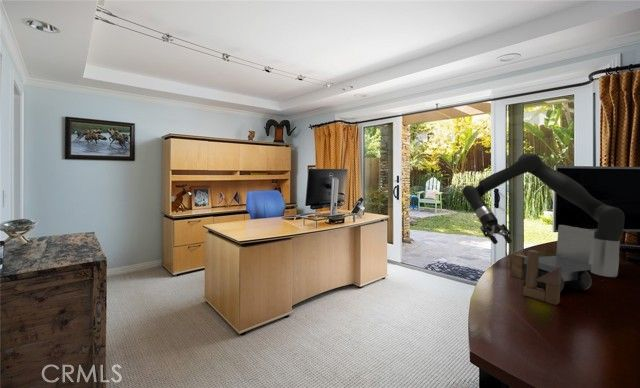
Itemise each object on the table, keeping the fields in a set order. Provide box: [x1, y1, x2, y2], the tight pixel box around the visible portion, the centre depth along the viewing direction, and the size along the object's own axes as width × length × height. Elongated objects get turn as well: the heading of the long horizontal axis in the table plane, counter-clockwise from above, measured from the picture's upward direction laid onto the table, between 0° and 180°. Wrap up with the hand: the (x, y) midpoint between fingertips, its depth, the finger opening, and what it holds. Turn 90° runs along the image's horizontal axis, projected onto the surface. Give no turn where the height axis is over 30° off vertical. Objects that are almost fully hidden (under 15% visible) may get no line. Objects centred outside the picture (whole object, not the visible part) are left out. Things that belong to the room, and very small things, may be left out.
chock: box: [511, 253, 528, 280], centre depth 139 cm, size 4×5×10 cm
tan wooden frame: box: [522, 249, 562, 306], centre depth 114 cm, size 4×11×18 cm, turn 36°
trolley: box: [523, 224, 595, 293], centre depth 126 cm, size 20×16×25 cm
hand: (503, 243), depth 148 cm, fingers open, 8 cm apart
